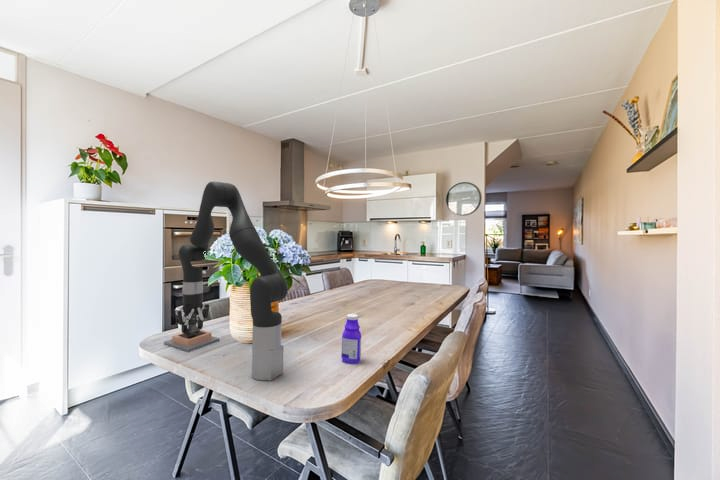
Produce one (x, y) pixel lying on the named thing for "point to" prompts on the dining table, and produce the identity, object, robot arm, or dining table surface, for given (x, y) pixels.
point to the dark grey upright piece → (192, 327)
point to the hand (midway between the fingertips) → (192, 331)
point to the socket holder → (191, 341)
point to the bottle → (351, 340)
